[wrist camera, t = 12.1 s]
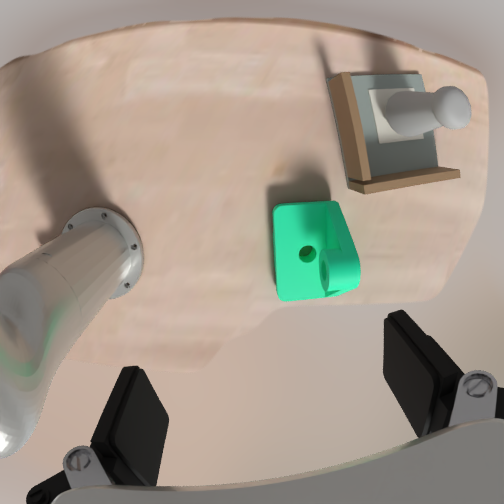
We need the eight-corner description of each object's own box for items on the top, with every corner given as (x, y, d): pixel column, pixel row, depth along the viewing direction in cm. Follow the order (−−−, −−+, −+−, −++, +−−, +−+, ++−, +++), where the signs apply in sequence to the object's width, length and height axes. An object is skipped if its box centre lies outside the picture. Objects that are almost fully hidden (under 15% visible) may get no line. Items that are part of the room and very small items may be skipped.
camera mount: (271, 202, 38) (282, 220, 28) (331, 199, 38) (362, 215, 28) (275, 293, 41) (286, 335, 31) (331, 287, 41) (356, 326, 32)
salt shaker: (386, 85, 32) (445, 64, 20) (421, 108, 33) (485, 99, 21) (372, 123, 34) (429, 115, 22) (407, 145, 35) (471, 148, 22)
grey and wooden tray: (348, 188, 37) (365, 194, 32) (325, 79, 33) (339, 68, 27) (436, 173, 37) (460, 177, 31) (419, 75, 32) (441, 67, 27)
